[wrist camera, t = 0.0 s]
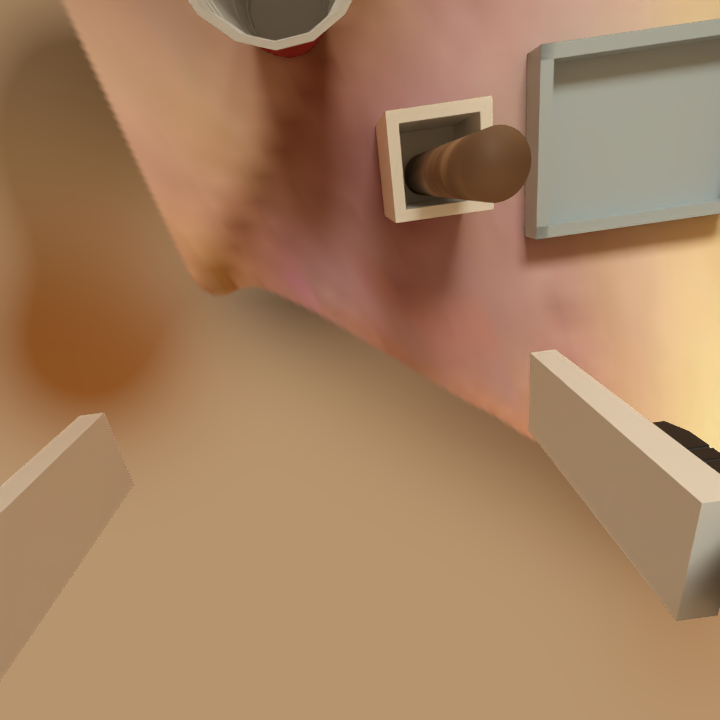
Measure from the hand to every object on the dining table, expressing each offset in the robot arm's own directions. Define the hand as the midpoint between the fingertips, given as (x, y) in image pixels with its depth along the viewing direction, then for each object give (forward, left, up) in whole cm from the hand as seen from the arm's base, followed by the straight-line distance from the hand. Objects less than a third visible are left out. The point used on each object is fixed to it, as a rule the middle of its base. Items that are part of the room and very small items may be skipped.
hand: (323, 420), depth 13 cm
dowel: (-7, +9, -27) cm, 29 cm away
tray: (-7, +27, -28) cm, 39 cm away
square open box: (-7, +9, -28) cm, 30 cm away
